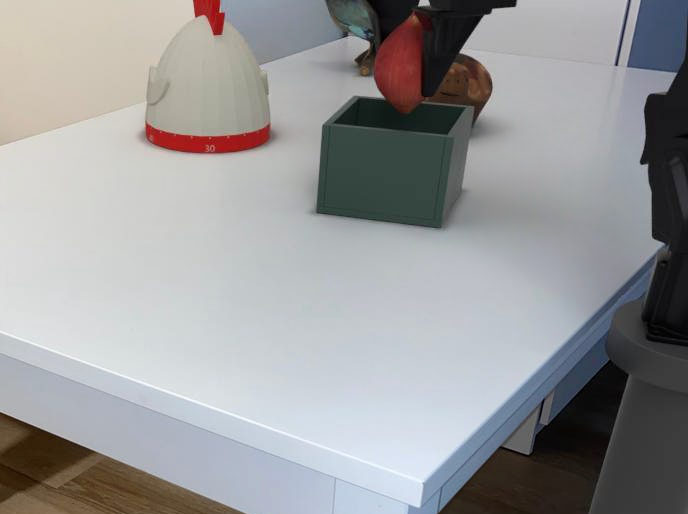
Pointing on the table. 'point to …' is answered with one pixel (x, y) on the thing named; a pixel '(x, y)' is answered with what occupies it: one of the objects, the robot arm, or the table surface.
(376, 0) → the robot arm
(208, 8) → the kitchen timer
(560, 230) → the table surface
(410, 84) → the onion
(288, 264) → the table surface
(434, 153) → the open green box
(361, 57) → the bird figurine
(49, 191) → the table surface
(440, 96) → the decorative turtle
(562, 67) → the table surface
